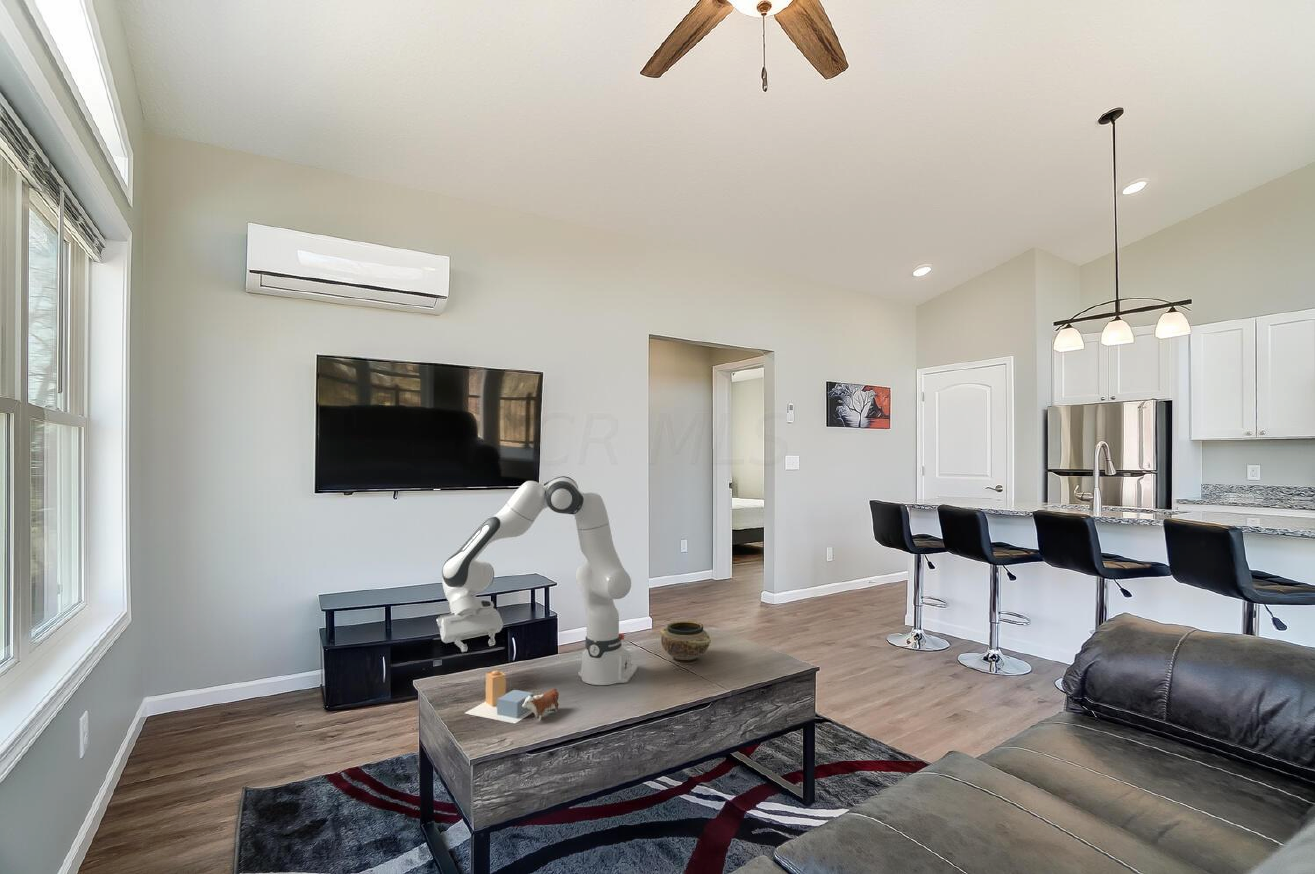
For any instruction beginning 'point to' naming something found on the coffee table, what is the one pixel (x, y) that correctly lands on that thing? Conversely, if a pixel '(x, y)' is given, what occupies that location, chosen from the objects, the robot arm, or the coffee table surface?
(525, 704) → the bull figurine
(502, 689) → the tall brick
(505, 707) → the base block
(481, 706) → the baseplate
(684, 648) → the ceramic bowl
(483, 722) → the coffee table surface
